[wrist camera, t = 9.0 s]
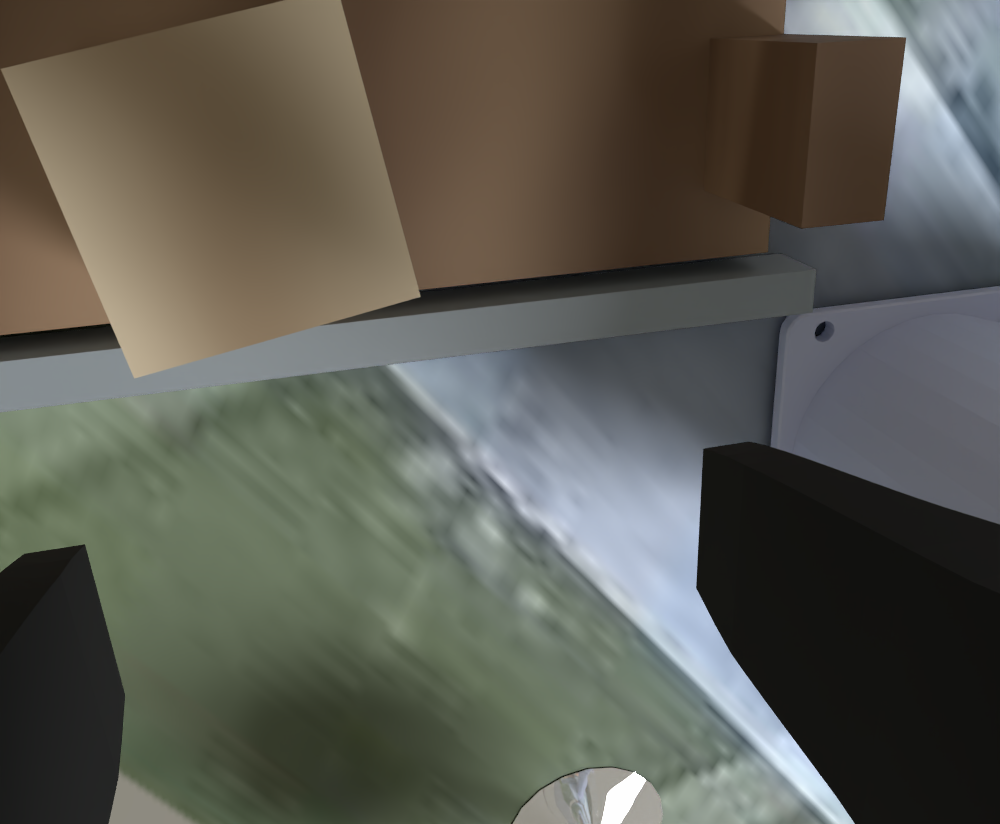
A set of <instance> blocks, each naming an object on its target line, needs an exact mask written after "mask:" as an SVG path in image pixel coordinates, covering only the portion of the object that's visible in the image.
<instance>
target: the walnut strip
mask: <svg viewBox="0 0 1000 824" xmlns="http://www.w3.org/2000/svg"><path fill="white" fill-rule="evenodd" d="M279 1H283V0H0V335H7V334H16V333H25V332H34V331H44V330H53V329H62V328H71V327H81V326H90V325H99V324H108V323H110V321H109V319H108V317H107V314H106V312H105V310H104V307H103V305H102V303H101V300H100V298H99V296H98V293H97V291H96V289H95V286H94V284H93V282H92V279H91V277H90V275H89V273H88V270H87V268H86V266H85V263H84V261H83V259H82V256H81V254H80V252H79V249H78V247H77V245H76V242H75V240H74V238H73V235H72V233H71V231H70V228H69V226H68V224H67V222H66V219H65V217H64V215H63V212H62V210H61V208H60V205H59V203H58V201H57V198H56V196H55V194H54V191H53V189H52V187H51V184H50V182H49V180H48V177H47V175H46V173H45V171H44V168H43V166H42V164H41V161H40V159H39V157H38V154H37V152H36V150H35V147H34V145H33V143H32V140H31V138H30V136H29V133H28V131H27V129H26V126H25V124H24V122H23V120H22V117H21V115H20V113H19V110H18V108H17V106H16V103H15V101H14V99H13V96H12V94H11V92H10V89H9V87H8V85H7V82H6V80H5V78H4V75H3V73H2V71H1V69H3V68H7V67H11V66H15V65H19V64H23V63H28V62H32V61H36V60H40V59H44V58H48V57H52V56H56V55H61V54H65V53H69V52H73V51H77V50H81V49H85V48H90V47H94V46H98V45H102V44H106V43H110V42H114V41H118V40H123V39H127V38H131V37H135V36H139V35H143V34H147V33H151V32H156V31H160V30H164V29H168V28H172V27H176V26H180V25H184V24H189V23H193V22H197V21H201V20H205V19H209V18H213V17H217V16H222V15H226V14H230V13H234V12H238V11H242V10H246V9H250V8H255V7H259V6H263V5H267V4H271V3H275V2H279ZM341 3H342V7H343V11H344V14H345V18H346V22H347V25H348V29H349V33H350V36H351V40H352V44H353V48H354V51H355V55H356V59H357V62H358V66H359V70H360V73H361V77H362V81H363V85H364V88H365V92H366V96H367V99H368V103H369V107H370V111H371V114H372V118H373V122H374V125H375V129H376V133H377V136H378V140H379V144H380V148H381V151H382V155H383V159H384V162H385V166H386V170H387V174H388V177H389V181H390V185H391V188H392V192H393V196H394V199H395V203H396V207H397V211H398V214H399V218H400V222H401V225H402V229H403V233H404V236H405V240H406V244H407V248H408V251H409V255H410V259H411V262H412V266H413V270H414V274H415V277H416V281H417V285H418V288H419V290H423V289H432V288H442V287H451V286H460V285H469V284H479V283H488V282H497V281H506V280H516V279H525V278H534V277H543V276H553V275H562V274H571V273H580V272H590V271H599V270H608V269H618V268H627V267H636V266H645V265H655V264H664V263H673V262H682V261H692V260H701V259H710V258H719V257H729V256H738V255H747V254H756V253H766V252H768V243H769V229H770V217H773V218H776V219H778V220H781V221H783V222H786V223H788V224H791V225H793V226H796V227H798V228H801V229H803V228H813V227H823V226H832V225H842V224H851V223H861V222H871V221H880V220H884V214H885V206H886V198H887V190H888V181H889V173H890V165H891V157H892V149H893V141H894V132H895V124H896V116H897V108H898V100H899V92H900V83H901V75H902V67H903V59H904V51H905V43H906V38H903V37H867V36H832V35H796V34H784V22H785V8H786V0H341Z"/></svg>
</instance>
